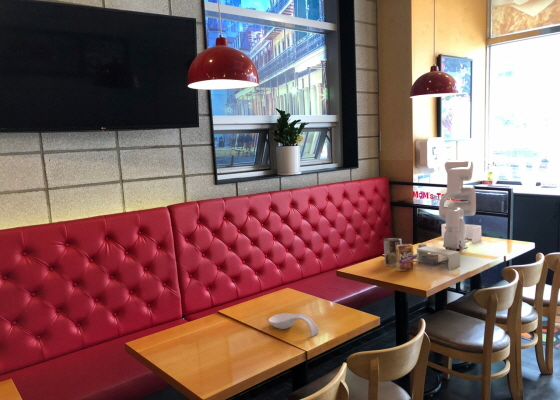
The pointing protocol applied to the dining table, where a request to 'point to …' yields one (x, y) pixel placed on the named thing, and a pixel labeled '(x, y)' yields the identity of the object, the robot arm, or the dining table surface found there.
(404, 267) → the candy box
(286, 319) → the spoon rest
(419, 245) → the straight bar tool
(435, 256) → the block
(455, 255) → the cubby
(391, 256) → the coffee box
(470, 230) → the storage container
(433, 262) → the crook tool
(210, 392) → the dining table surface
